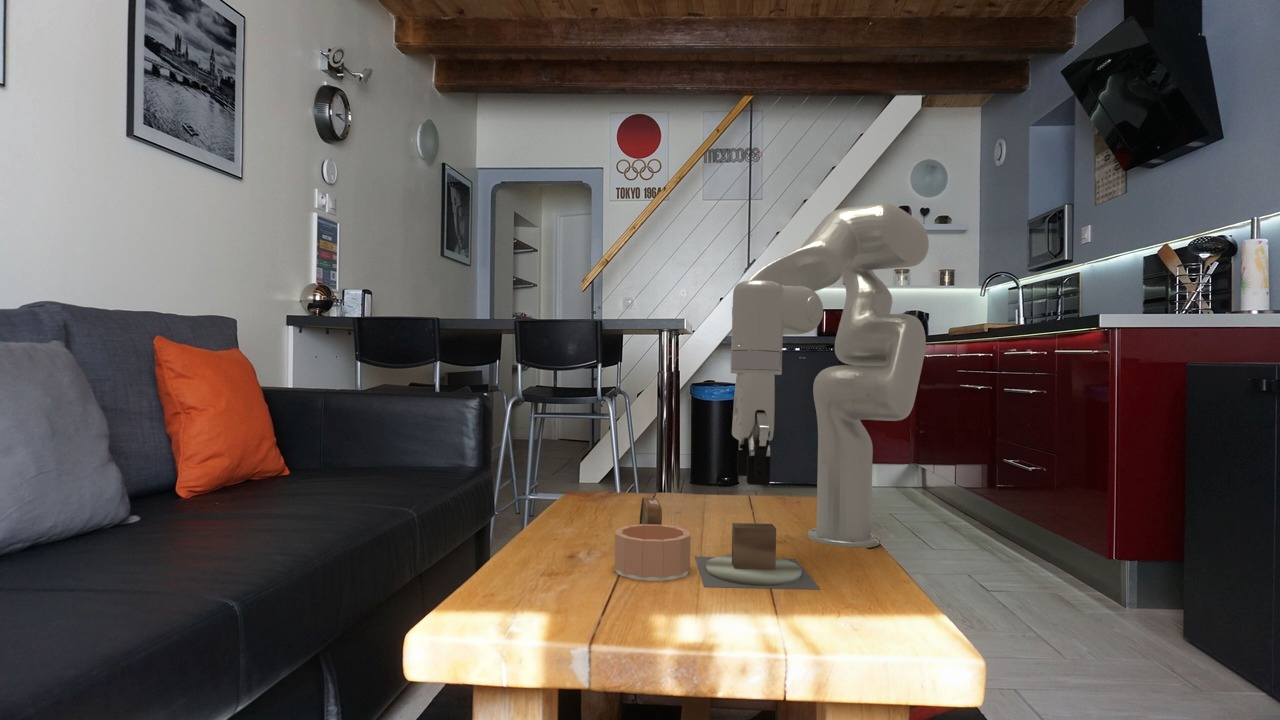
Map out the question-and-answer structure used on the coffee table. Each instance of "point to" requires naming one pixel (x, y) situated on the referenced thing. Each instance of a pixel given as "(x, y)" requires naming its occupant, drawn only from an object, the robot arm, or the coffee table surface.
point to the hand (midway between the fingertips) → (752, 479)
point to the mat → (713, 582)
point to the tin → (650, 511)
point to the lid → (753, 558)
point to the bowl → (652, 552)
